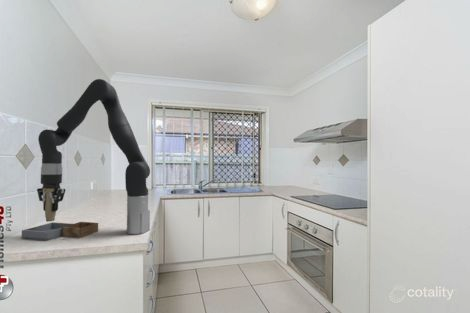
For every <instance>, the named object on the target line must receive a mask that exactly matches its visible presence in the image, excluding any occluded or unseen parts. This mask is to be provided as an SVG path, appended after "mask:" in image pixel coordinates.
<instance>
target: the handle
mask: <svg viewBox="0 0 470 313" xmlns="http://www.w3.org/2000/svg"><path fill="white" fill-rule="evenodd" d="M43 189H44V188H43ZM57 191H58V190H57ZM44 192H46V205H45V211H44V216H45V221H46V222H48V223H49V222H54V221H55V220H56V216H57V215H56V213H57V211H52V199H51V198H50V195H49V192H54V189H49V188H46V189H44ZM53 196H56V195H53ZM55 199H56V198H55Z"/></svg>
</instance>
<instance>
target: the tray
mask: <svg viewBox="0 0 470 313" xmlns="http://www.w3.org/2000/svg"><path fill="white" fill-rule="evenodd" d="M71 224H72V223H69V222H68V223H67V222H54V221H51V222H48V223H45V224H42V225H41V224H40V225H37V226H33V227H30V228H26V229H22V230H21V239H24V240H25V239H26V240H35V241H46V242H47V241H50V240H54V239H57V238H60V237H63V236H62V227H64V226H68V225H71Z"/></svg>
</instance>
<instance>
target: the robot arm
mask: <svg viewBox="0 0 470 313" xmlns="http://www.w3.org/2000/svg"><path fill="white" fill-rule="evenodd" d="M98 101H100V103H101V104H102V106H103V108H104V110H105V113H106V115H107V125H108V126H107V127H108V129H109V133H110V134H111V137H112V139H113V141H114V142H115V144H116V146H117V147H118V148H119V149H120V151H121V152H122V153H123V155H124V157H126V160H127V162H128V165H127V167H126V168H125V173H124V175H125V176H124V177H125V178H124V179H125V183H124V184H125V190H126V194H127V196H126V197H127V198H126V233H127V235H142V234H144V233H146V232H149V231H150V230H151V228H150V226H151V224H150V223H151V211H150V209H149V189H148V187H147V178H149V176H150V174H151V169H150V165H148V164H149V163H148V162H147V161H146V159H145V157H144V155H143V153H142V151H141V150H140V147H139V144H138V142H137V138H136V137H135V134H134V132H133V129H132V127H131V125H130V122H129V121H128V119H127V116H126V114H125V112H124V110H123V108H122V106H121V103H120V99H119V96H118V92H117V91H116V89H115V87H114V86H112V84H110V83H109V82H107V81H106V80H105V79H102V78H97V79H95V80H93V81H92V82H90V83H89V85H88V86H87V87H86V89H85V90H84V91H83V93H82V95H80V97H79V98H78V100H77V101H76V102H75V103H74V104H73V106H71V108H70V109H69V110H68V111H67V112H66V113H65V114H63V116H61V117H60V118H59V119H58V120H57V121H56V126H57V128H56V129H55V130H52V129H44V130H41V132H40V133H39V134H38V139H37V141H38V146H39V148H40V151H41V154H42V155H41V156H42V157H41V168H40V184H41V185H42V187H40V188H36V191H37V197H38V200H39V202H42V203H43V207H42V208H43V211H44V212H45V205H46V192H44V189H46V188H49V189H54V192H49V195H50V198H51V199H52V211H56V212H57V211H58V210H59V203H60V202H63V199H64V196H65V194H66V188H61V184H62V183H63V164H62V163H63V153H62V152H61V151H59V150H58V148H57V147H59V146H63V145H65V143H67V141H68V140H69V138H70V137H71V135H72V133H73V132H74V131H75V130H76V129H77V128H78V127H79V126H80V125H81V124H82V123H83V122H84V121H85V119H86V117H87V115H88V113H89V111H90V109H91V108H92V107H93V105H94V104H96V103H97V102H98ZM43 188H44V189H43ZM57 190H58V191H57ZM53 195H56V196H53ZM55 198H56V199H55Z"/></svg>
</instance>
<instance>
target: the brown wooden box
mask: <svg viewBox="0 0 470 313" xmlns="http://www.w3.org/2000/svg"><path fill="white" fill-rule="evenodd" d="M97 232H99V222H91V221H90V222H89V221H79V222H75V223H71V225H68V226H64V227H62V236H61V237H66V238H67V237H69V238H77V239H78V238H79V239H80V238H81V239H82V238H83V237H87V236H89V235H93V234H95V233H97Z"/></svg>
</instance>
